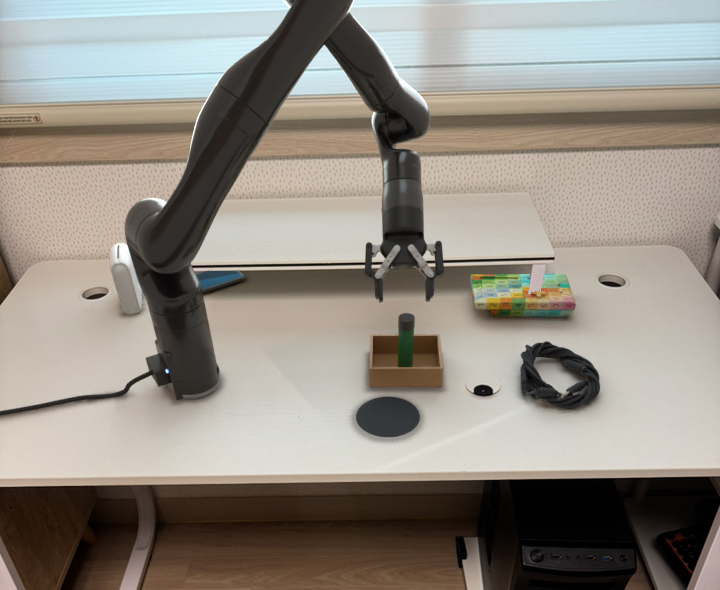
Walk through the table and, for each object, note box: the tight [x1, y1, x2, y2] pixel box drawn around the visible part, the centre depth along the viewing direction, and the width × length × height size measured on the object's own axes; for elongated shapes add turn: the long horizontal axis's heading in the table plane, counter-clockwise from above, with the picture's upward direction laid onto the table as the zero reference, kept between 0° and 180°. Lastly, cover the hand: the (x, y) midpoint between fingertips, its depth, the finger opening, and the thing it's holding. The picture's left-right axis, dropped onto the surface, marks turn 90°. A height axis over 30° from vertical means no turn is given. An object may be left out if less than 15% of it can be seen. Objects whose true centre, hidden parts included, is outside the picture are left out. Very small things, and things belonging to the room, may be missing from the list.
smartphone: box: [195, 270, 246, 294], centre depth 154 cm, size 8×15×1 cm, turn 123°
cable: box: [520, 340, 601, 409], centre depth 125 cm, size 17×14×4 cm
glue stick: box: [397, 312, 416, 367], centre depth 125 cm, size 3×3×11 cm
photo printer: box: [109, 242, 143, 315], centre depth 145 cm, size 10×4×12 cm, turn 12°
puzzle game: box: [469, 273, 577, 318], centre depth 143 cm, size 12×5×20 cm
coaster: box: [355, 396, 421, 438], centre depth 119 cm, size 11×11×1 cm
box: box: [368, 333, 444, 388], centre depth 127 cm, size 13×11×4 cm
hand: (404, 301), depth 125 cm, fingers open, 8 cm apart
